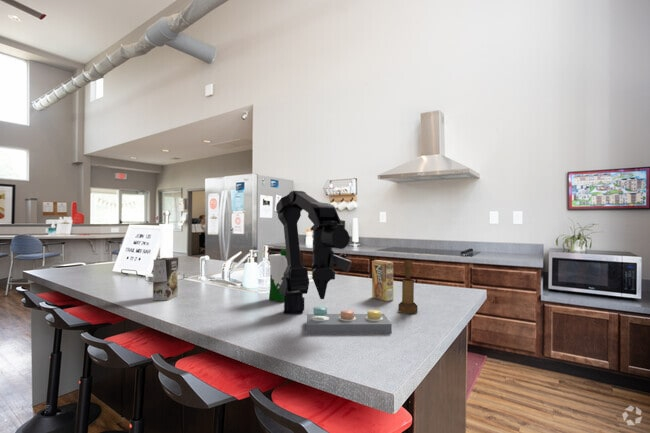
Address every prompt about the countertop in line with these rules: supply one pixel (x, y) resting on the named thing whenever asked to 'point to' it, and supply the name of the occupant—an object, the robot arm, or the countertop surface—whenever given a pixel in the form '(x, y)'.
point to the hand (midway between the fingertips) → (322, 298)
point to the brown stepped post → (407, 292)
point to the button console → (347, 324)
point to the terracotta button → (347, 314)
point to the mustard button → (374, 314)
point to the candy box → (382, 280)
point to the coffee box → (165, 278)
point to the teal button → (320, 311)
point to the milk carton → (277, 275)
